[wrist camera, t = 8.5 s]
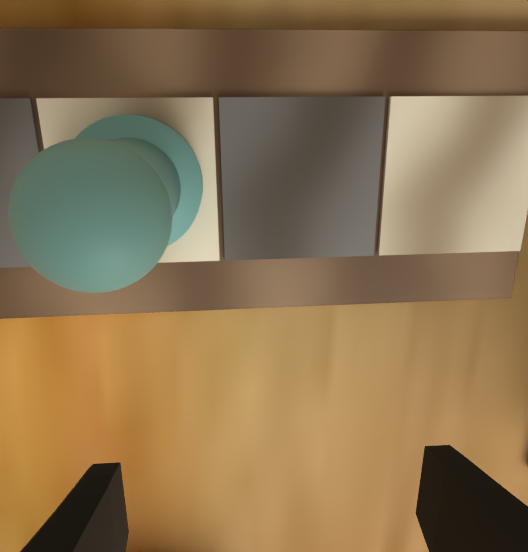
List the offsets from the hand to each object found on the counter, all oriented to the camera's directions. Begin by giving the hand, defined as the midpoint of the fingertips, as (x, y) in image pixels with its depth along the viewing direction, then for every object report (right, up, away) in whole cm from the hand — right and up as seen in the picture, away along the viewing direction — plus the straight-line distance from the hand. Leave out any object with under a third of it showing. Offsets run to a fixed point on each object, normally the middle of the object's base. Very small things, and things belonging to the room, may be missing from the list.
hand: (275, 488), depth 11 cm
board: (-2, +9, +7) cm, 11 cm away
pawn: (-5, +8, +5) cm, 11 cm away
